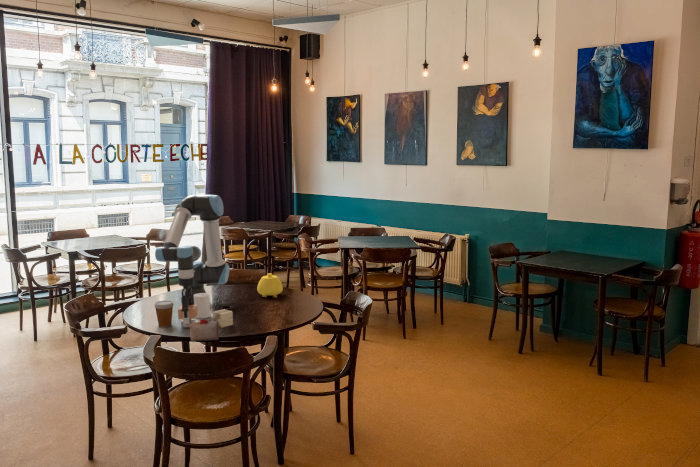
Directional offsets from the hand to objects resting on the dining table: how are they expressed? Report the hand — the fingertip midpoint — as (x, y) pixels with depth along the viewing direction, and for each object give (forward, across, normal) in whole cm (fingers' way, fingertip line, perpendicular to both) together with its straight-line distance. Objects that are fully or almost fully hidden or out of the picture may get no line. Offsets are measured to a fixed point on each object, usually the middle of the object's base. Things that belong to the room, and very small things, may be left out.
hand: (188, 321), depth 307 cm
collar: (-2, 0, 0) cm, 2 cm away
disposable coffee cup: (+3, +4, +13) cm, 14 cm away
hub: (+3, 0, 0) cm, 3 cm away
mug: (+3, +21, -3) cm, 22 cm away
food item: (+4, -20, -12) cm, 23 cm away
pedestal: (+3, +3, -17) cm, 18 cm away
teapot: (+4, +65, -37) cm, 75 cm away
